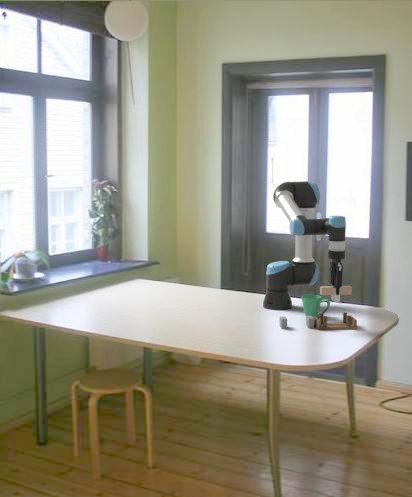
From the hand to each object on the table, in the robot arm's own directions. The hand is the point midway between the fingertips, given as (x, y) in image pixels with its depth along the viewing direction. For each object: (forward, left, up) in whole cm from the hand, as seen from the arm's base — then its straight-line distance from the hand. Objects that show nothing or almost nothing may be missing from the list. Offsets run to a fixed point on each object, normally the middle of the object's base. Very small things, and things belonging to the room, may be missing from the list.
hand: (335, 300), depth 330 cm
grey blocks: (-2, -18, -13) cm, 22 cm away
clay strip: (0, 0, +3) cm, 3 cm away
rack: (0, 0, -13) cm, 13 cm away
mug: (-20, -4, -13) cm, 24 cm away
